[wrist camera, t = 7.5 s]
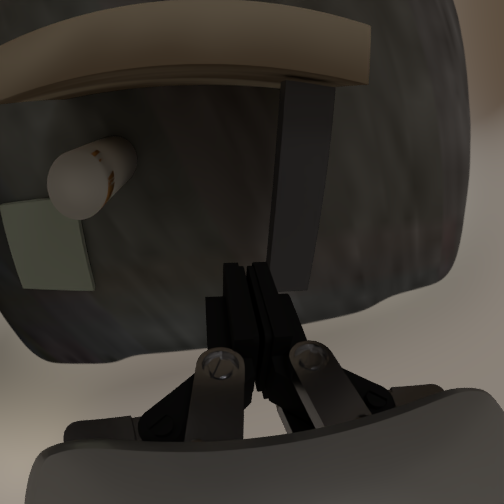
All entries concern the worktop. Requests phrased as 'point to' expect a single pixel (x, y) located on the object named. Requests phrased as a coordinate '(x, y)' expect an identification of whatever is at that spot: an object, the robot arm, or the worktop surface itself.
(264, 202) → the worktop surface
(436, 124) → the worktop surface
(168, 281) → the worktop surface
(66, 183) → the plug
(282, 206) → the strap
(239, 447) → the robot arm
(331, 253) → the worktop surface
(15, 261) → the mat
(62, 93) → the stand
